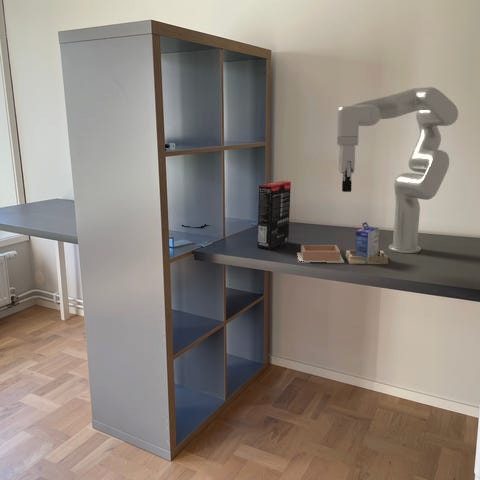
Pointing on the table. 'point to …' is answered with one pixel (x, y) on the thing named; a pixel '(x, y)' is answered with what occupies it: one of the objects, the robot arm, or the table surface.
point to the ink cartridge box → (367, 242)
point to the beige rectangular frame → (354, 259)
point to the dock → (320, 254)
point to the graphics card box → (273, 214)
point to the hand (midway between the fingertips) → (346, 191)
